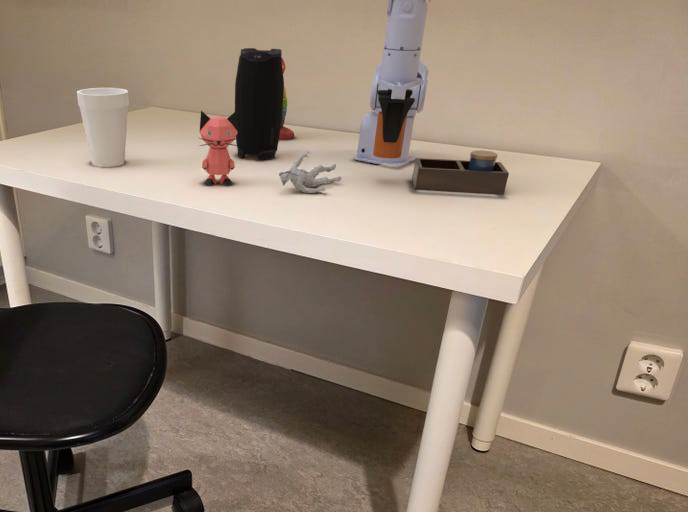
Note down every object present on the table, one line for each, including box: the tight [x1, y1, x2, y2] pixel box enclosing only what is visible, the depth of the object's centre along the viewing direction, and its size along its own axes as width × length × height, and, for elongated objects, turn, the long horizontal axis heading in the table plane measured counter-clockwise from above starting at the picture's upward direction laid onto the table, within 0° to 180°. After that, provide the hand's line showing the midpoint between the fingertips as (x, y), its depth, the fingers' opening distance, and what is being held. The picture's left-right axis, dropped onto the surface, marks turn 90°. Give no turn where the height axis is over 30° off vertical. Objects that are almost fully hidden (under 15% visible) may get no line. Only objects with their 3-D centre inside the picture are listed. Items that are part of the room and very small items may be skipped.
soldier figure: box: [278, 150, 342, 194], centre depth 108 cm, size 8×5×12 cm
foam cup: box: [76, 87, 130, 168], centre depth 121 cm, size 10×9×13 cm
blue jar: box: [468, 150, 499, 171], centre depth 107 cm, size 4×4×6 cm
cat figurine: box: [198, 110, 239, 186], centre depth 109 cm, size 7×7×12 cm
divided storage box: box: [411, 157, 510, 196], centre depth 108 cm, size 7×14×4 cm, turn 78°
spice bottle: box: [373, 111, 407, 159], centre depth 106 cm, size 5×5×8 cm
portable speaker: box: [234, 47, 285, 161], centre depth 124 cm, size 9×9×20 cm
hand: (389, 138), depth 107 cm, fingers closed on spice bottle, 4 cm apart
